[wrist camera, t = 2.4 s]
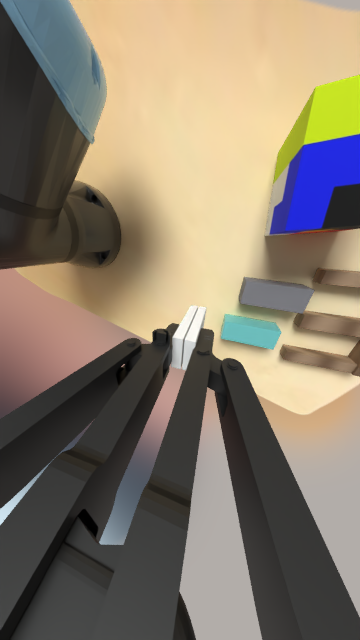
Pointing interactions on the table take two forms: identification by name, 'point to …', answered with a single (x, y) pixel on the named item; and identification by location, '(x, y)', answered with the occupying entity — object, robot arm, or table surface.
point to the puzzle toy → (320, 165)
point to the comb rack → (329, 328)
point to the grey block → (275, 294)
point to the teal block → (250, 331)
